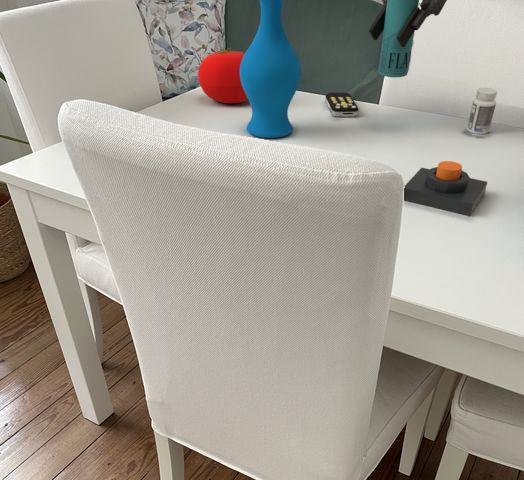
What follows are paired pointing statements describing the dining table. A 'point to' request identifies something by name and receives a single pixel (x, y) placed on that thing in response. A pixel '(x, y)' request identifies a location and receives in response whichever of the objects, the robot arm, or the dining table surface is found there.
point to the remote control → (341, 104)
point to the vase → (270, 74)
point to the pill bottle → (482, 111)
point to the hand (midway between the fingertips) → (386, 38)
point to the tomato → (222, 76)
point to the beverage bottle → (392, 53)
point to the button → (449, 170)
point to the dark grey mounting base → (445, 191)
